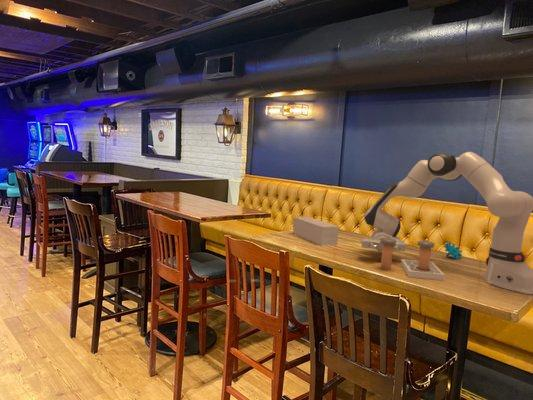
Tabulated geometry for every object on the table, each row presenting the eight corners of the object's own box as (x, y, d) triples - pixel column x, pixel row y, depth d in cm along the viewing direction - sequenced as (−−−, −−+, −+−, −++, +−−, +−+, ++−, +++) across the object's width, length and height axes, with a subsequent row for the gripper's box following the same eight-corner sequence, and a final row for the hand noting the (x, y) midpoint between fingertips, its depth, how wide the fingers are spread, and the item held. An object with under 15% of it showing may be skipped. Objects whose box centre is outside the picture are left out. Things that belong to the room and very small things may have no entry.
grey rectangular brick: (337, 245, 226) (338, 226, 225) (321, 246, 222) (322, 227, 221) (307, 233, 255) (308, 216, 254) (292, 234, 250) (294, 217, 249)
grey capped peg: (434, 275, 172) (437, 243, 170) (424, 277, 169) (427, 244, 167) (421, 271, 178) (424, 240, 176) (411, 273, 174) (414, 241, 173)
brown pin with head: (396, 272, 178) (399, 241, 176) (385, 273, 175) (388, 241, 173) (385, 267, 184) (388, 237, 182) (374, 269, 180) (377, 238, 179)
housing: (400, 266, 188) (401, 259, 187) (432, 269, 186) (432, 262, 185) (408, 279, 168) (409, 271, 168) (443, 282, 166) (444, 274, 166)
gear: (450, 257, 205) (443, 240, 211) (442, 262, 209) (436, 246, 215) (467, 259, 209) (459, 243, 215) (459, 265, 213) (452, 248, 219)
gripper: (360, 234, 201) (362, 239, 188) (403, 237, 198) (408, 243, 185) (359, 246, 202) (361, 252, 189) (402, 250, 199) (407, 257, 185)
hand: (385, 248), depth 187 cm, fingers open, 8 cm apart
